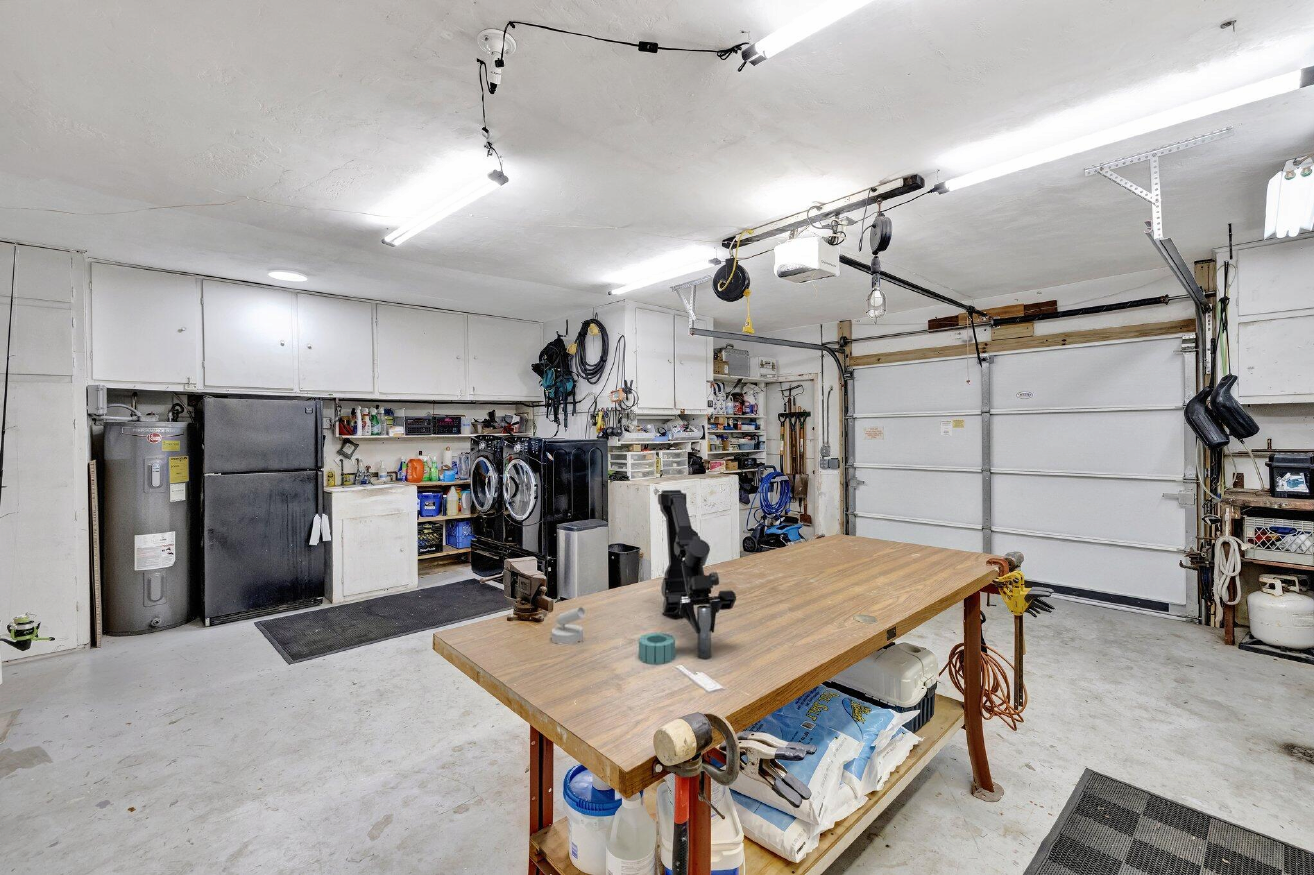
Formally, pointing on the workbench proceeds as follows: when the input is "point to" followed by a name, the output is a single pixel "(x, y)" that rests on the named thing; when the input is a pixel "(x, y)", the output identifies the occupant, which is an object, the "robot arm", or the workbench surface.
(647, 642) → the teal notched ring
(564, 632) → the wall hook
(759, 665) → the workbench surface
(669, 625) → the workbench surface
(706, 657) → the shiny metal cylinder
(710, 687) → the butcher knife
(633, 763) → the workbench surface
